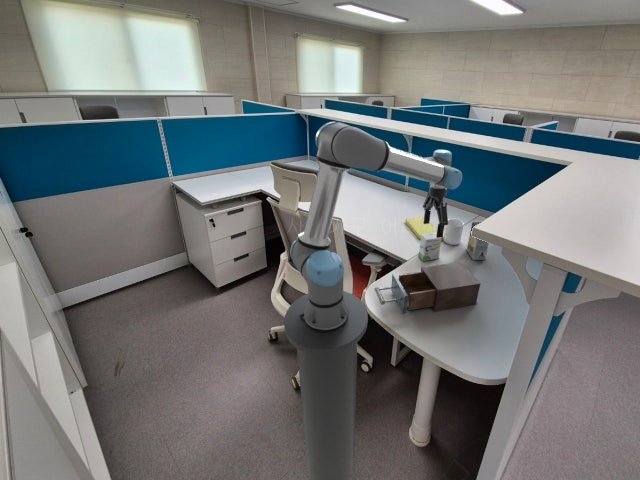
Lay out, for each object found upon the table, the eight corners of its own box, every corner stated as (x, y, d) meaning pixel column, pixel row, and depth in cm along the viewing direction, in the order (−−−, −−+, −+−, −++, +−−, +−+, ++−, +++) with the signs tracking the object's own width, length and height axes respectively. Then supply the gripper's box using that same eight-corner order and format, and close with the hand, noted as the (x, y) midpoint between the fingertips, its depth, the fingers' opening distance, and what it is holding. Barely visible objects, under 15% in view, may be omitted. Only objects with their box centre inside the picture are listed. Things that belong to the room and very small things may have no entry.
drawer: (382, 316, 106) (383, 299, 103) (372, 292, 118) (373, 276, 115) (444, 306, 113) (447, 289, 109) (428, 284, 124) (431, 268, 121)
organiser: (434, 311, 111) (437, 290, 107) (418, 286, 124) (421, 267, 120) (475, 303, 116) (480, 283, 112) (456, 280, 129) (460, 261, 125)
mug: (463, 245, 157) (466, 226, 152) (447, 246, 155) (450, 227, 150) (453, 234, 167) (456, 216, 163) (438, 235, 166) (441, 217, 161)
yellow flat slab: (405, 222, 179) (421, 242, 158) (405, 219, 178) (422, 238, 157) (424, 220, 182) (442, 240, 161) (424, 217, 181) (443, 236, 160)
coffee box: (465, 250, 152) (471, 221, 146) (478, 250, 153) (484, 221, 146) (472, 260, 144) (479, 230, 137) (485, 260, 145) (492, 230, 138)
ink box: (423, 261, 141) (425, 239, 137) (418, 255, 146) (420, 234, 141) (438, 258, 144) (442, 237, 139) (433, 253, 148) (436, 232, 143)
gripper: (461, 196, 120) (453, 242, 129) (433, 177, 142) (428, 217, 151) (444, 197, 118) (437, 244, 127) (418, 178, 140) (414, 219, 149)
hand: (432, 230), depth 139 cm, fingers open, 13 cm apart
